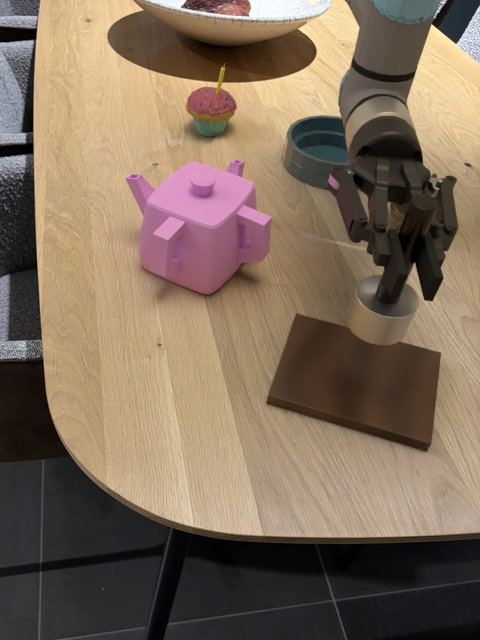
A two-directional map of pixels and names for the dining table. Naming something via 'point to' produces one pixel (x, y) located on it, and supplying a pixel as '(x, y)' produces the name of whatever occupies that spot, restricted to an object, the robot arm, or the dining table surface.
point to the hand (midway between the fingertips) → (416, 287)
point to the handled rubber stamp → (372, 292)
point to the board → (358, 382)
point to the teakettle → (200, 225)
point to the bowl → (315, 149)
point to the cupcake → (211, 108)
